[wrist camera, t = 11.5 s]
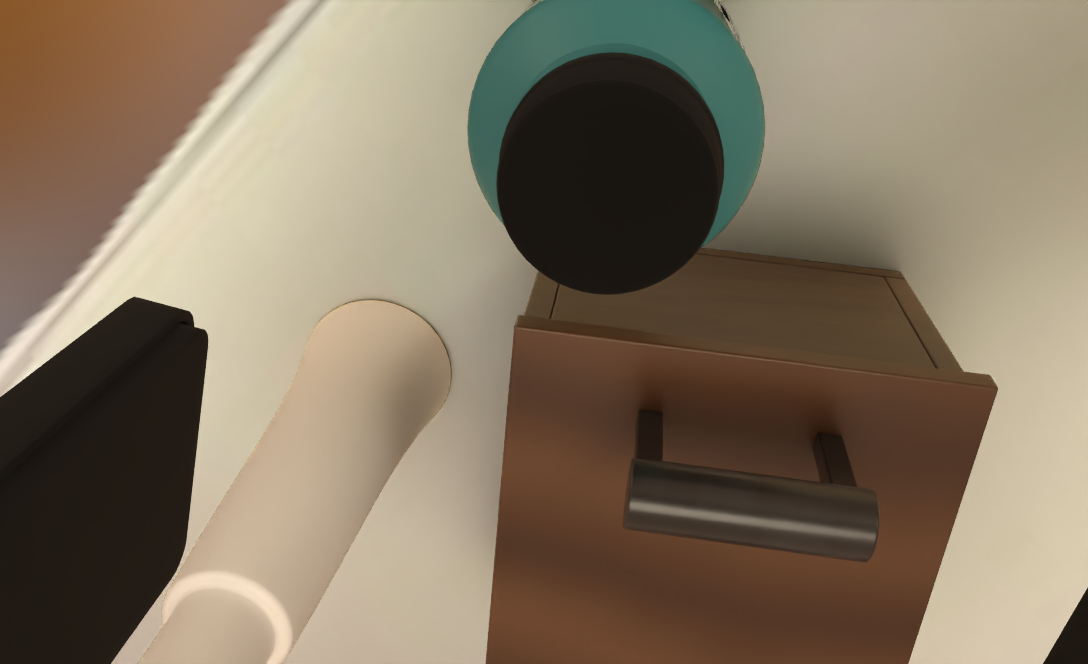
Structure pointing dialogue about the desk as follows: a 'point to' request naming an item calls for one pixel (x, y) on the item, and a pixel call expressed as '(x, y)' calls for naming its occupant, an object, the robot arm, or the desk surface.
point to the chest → (767, 308)
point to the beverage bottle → (615, 137)
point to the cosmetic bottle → (305, 488)
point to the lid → (721, 500)
